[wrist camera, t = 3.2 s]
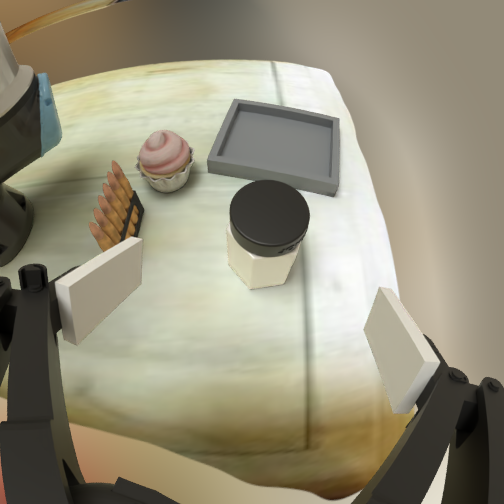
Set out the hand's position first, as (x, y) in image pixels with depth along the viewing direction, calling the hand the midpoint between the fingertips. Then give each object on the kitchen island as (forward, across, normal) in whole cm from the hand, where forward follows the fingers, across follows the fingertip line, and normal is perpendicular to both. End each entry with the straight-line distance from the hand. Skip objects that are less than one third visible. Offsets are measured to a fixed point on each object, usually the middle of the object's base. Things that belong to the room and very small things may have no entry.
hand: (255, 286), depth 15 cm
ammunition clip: (+23, -19, -8) cm, 31 cm away
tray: (+39, -1, +9) cm, 40 cm away
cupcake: (+31, -17, +1) cm, 36 cm away
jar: (+24, 0, -7) cm, 25 cm away
